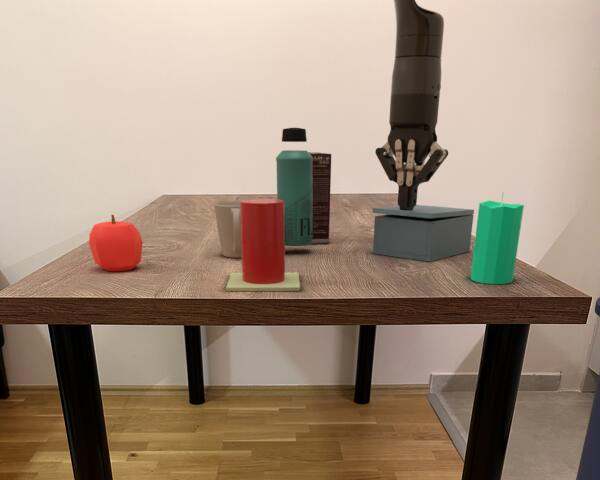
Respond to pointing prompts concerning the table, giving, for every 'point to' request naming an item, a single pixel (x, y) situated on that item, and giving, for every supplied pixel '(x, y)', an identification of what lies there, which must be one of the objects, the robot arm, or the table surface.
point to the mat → (287, 285)
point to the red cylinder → (262, 240)
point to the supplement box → (321, 196)
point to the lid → (424, 211)
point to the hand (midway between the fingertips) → (406, 209)
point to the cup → (229, 228)
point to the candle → (496, 242)
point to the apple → (115, 245)
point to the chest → (422, 236)
